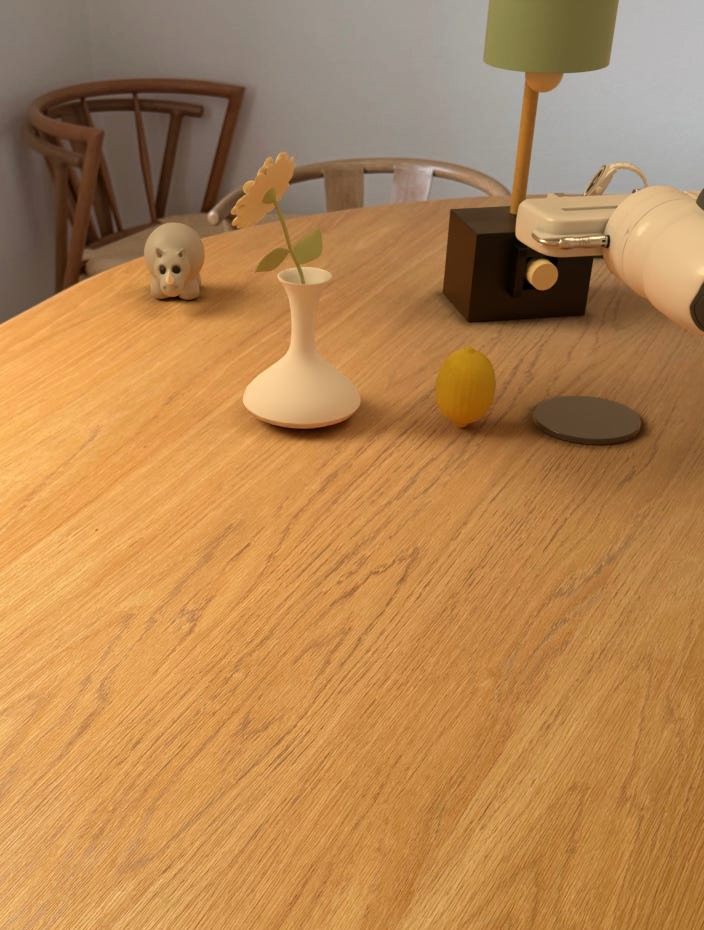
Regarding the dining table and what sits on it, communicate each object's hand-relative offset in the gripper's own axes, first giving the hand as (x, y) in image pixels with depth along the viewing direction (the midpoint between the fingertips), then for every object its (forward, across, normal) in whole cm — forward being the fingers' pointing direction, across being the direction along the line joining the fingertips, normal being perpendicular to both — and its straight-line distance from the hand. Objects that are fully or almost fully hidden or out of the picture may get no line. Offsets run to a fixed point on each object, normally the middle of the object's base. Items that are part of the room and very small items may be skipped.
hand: (595, 199), depth 123 cm
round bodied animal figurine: (+26, -39, -17) cm, 50 cm away
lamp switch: (+11, 0, -12) cm, 17 cm away
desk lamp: (+18, 0, -17) cm, 25 cm away
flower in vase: (-9, -32, -17) cm, 37 cm away
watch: (+36, +19, -17) cm, 44 cm away
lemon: (-14, -16, -17) cm, 27 cm away
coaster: (-14, -4, -17) cm, 23 cm away
